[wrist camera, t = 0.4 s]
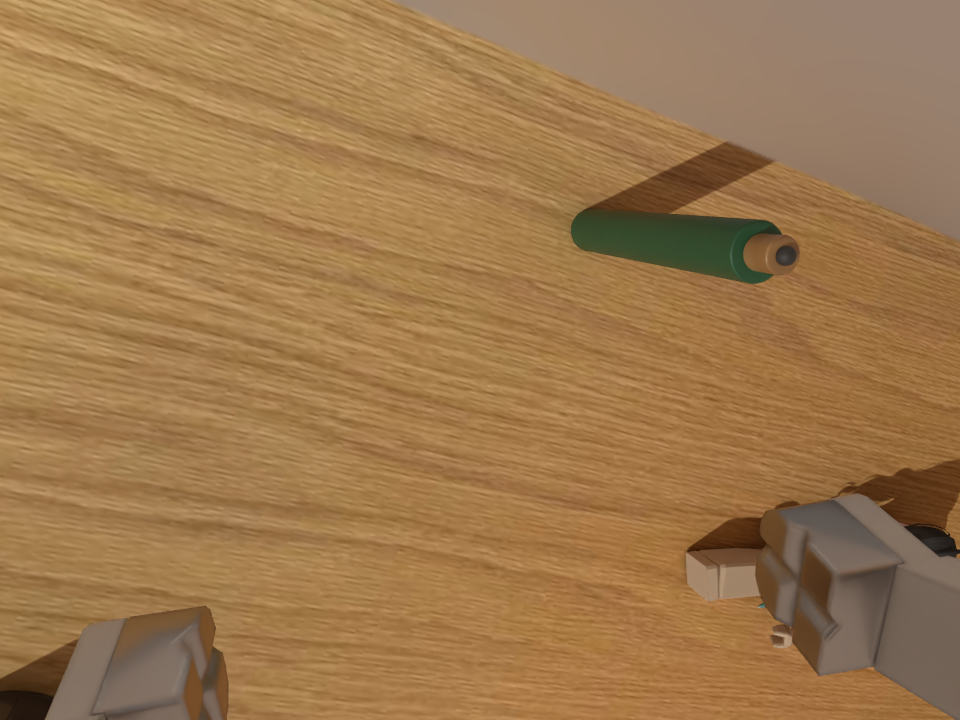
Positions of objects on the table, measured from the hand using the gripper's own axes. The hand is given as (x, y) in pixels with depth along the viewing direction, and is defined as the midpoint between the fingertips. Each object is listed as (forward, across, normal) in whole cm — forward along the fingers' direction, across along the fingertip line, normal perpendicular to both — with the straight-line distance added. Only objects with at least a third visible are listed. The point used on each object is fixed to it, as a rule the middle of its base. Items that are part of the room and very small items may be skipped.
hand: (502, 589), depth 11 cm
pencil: (+25, -10, +2) cm, 27 cm away
